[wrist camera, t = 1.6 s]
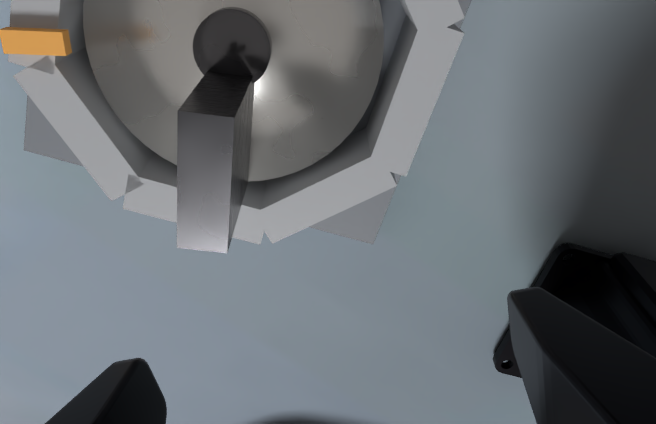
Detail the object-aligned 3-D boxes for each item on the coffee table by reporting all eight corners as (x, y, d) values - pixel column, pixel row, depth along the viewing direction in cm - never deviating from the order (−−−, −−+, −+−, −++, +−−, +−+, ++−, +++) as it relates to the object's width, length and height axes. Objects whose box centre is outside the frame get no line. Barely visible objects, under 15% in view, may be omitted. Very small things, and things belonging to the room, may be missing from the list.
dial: (356, 169, 19) (367, 268, 14) (114, 141, 19) (31, 232, 14) (400, -100, 16) (437, -105, 10) (101, -144, 15) (-22, -172, 10)
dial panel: (371, 228, 22) (379, 291, 18) (39, 137, 20) (-24, 187, 17) (507, -117, 17) (556, -124, 13) (73, -278, 15) (-8, -337, 11)
